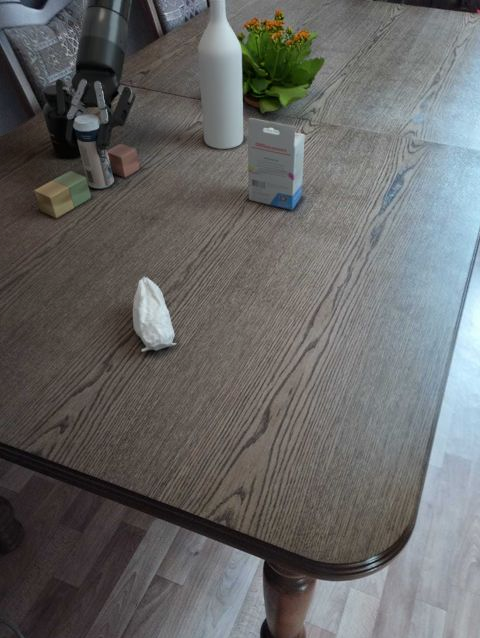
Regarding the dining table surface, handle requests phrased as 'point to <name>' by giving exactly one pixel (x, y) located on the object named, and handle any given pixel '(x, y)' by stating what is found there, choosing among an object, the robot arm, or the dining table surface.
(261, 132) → the ink box
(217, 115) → the bottle
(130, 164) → the block row
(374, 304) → the dining table surface
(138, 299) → the white crumpled pouch
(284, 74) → the potted flower
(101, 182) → the white cylindrical canister
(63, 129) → the supplement bottle
